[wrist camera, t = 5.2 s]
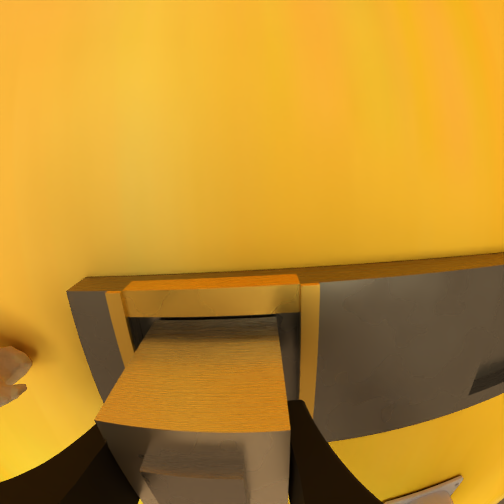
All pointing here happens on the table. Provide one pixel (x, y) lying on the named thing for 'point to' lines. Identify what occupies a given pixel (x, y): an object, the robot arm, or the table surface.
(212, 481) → the wood-topped square block
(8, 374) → the arrowhead
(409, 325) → the grey slotted panel
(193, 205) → the table surface
